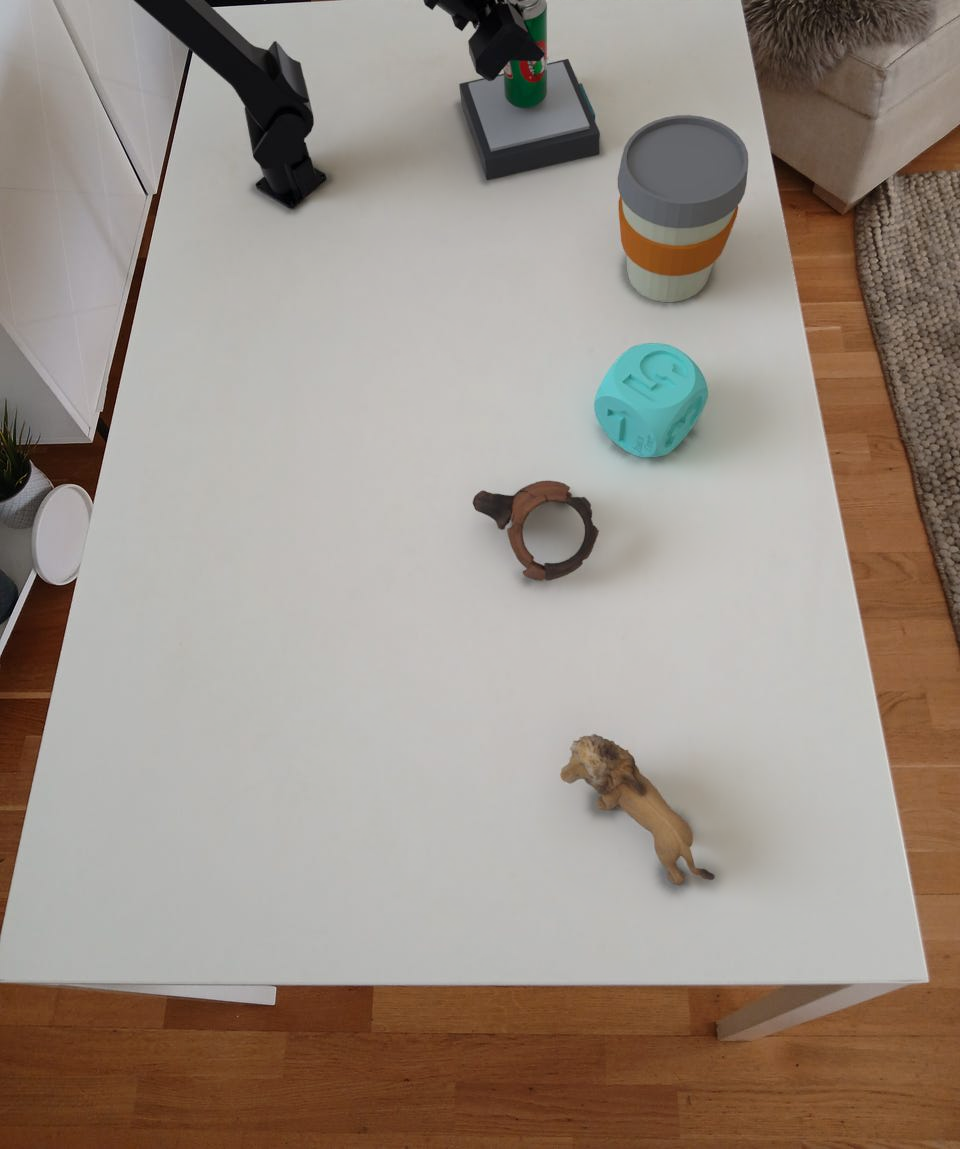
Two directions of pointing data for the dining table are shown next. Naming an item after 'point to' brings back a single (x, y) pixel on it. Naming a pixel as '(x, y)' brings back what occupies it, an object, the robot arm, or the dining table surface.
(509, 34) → the robot arm
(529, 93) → the soda can
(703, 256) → the reusable coffee cup
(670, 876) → the lion figurine
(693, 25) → the dining table surface
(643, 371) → the decorative dice
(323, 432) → the dining table surface
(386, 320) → the dining table surface
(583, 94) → the scale
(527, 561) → the jagged brown ring
